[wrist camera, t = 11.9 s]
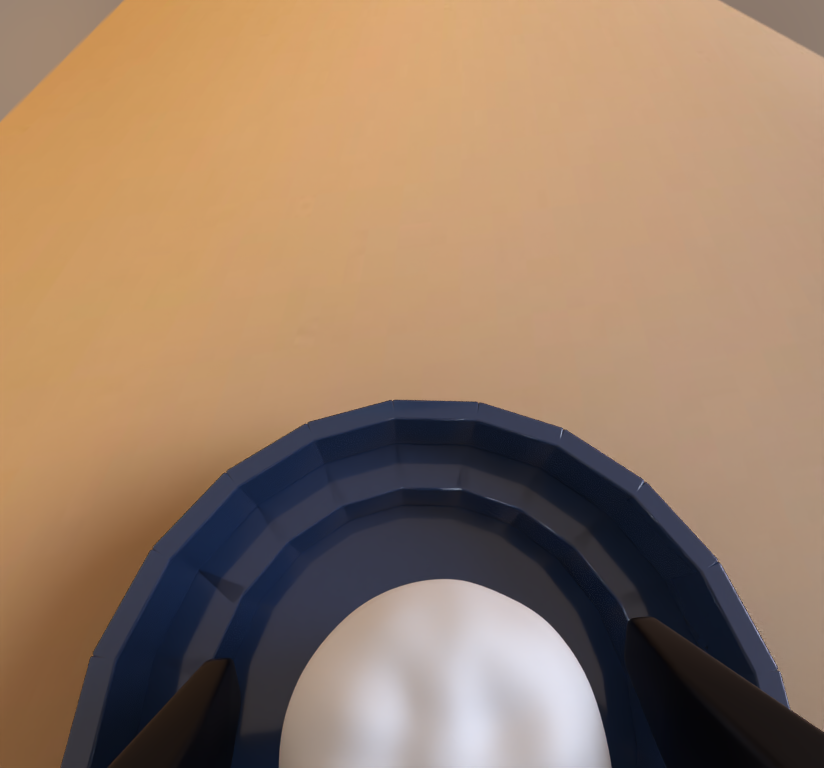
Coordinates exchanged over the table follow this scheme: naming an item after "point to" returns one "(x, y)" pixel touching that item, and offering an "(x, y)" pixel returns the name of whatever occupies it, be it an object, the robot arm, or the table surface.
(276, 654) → the bowl
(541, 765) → the milkshake
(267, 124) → the table surface
